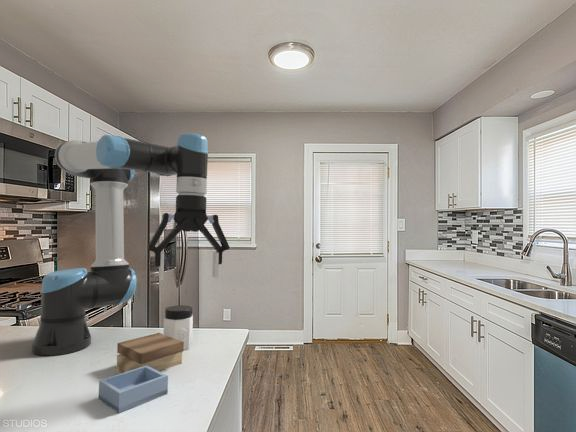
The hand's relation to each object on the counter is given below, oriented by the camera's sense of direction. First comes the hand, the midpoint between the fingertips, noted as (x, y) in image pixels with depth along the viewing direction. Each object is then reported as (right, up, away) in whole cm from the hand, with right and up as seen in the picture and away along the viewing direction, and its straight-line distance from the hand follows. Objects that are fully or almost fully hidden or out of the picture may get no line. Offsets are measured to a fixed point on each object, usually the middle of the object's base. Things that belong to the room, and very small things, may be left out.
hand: (189, 278), depth 90 cm
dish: (-9, -24, -12) cm, 28 cm away
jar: (-9, -25, +20) cm, 33 cm away
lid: (-11, -20, +4) cm, 24 cm away
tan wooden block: (-11, -24, +4) cm, 27 cm away
